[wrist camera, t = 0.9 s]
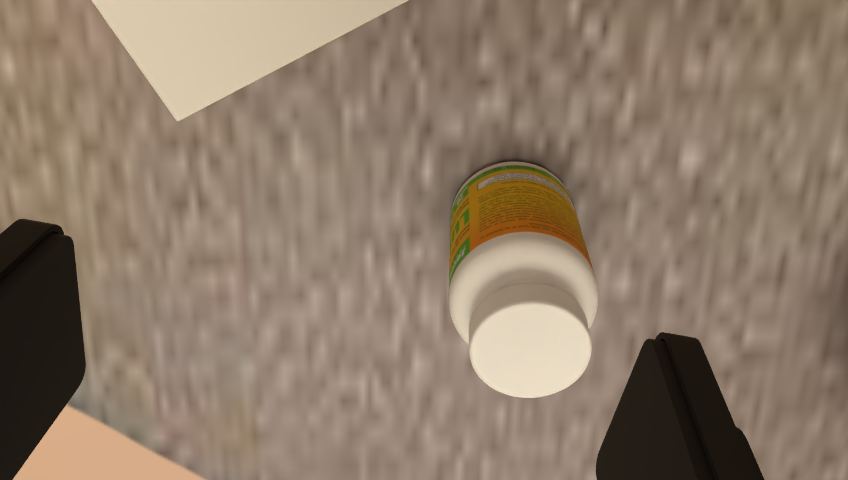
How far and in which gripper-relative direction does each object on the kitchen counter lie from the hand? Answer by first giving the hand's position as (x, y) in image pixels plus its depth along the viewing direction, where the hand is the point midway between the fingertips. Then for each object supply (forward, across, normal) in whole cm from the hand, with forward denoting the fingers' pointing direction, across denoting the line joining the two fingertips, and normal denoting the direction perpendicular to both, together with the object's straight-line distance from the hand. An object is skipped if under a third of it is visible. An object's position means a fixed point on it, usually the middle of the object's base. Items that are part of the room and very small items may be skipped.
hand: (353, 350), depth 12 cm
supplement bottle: (+28, -6, +11) cm, 31 cm away
